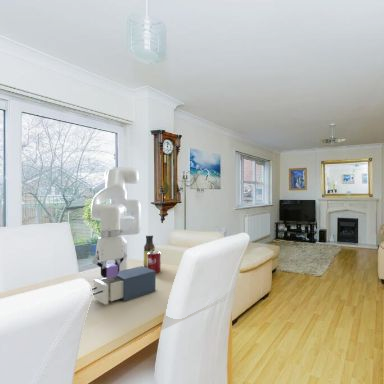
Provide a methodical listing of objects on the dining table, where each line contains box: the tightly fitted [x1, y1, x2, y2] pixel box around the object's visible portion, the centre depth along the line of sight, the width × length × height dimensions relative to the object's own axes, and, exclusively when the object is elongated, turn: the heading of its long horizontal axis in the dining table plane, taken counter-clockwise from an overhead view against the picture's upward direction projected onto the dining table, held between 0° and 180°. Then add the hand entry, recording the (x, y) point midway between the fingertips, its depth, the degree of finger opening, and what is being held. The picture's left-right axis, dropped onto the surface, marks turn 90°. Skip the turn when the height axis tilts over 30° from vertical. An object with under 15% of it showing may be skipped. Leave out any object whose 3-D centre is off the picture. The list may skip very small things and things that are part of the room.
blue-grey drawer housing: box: [115, 265, 156, 302], centre depth 122 cm, size 15×13×10 cm
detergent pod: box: [105, 263, 118, 278], centre depth 113 cm, size 4×4×4 cm
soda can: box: [147, 250, 162, 276], centre depth 149 cm, size 7×7×12 cm
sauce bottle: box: [143, 234, 156, 268], centre depth 160 cm, size 6×6×20 cm
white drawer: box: [91, 276, 124, 306], centre depth 113 cm, size 19×11×8 cm, turn 142°
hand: (110, 274), depth 113 cm, fingers closed on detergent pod, 4 cm apart
